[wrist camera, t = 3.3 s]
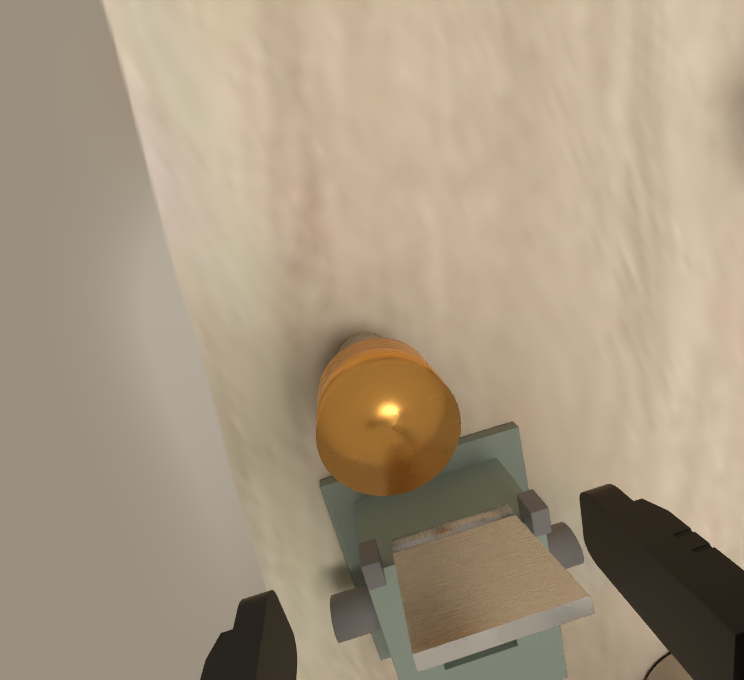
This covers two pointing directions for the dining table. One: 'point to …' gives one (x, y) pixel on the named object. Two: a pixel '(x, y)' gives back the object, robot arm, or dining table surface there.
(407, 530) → the grey-green knobbed device
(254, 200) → the dining table surface
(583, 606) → the bar
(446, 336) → the dining table surface
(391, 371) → the orange domed cylinder
